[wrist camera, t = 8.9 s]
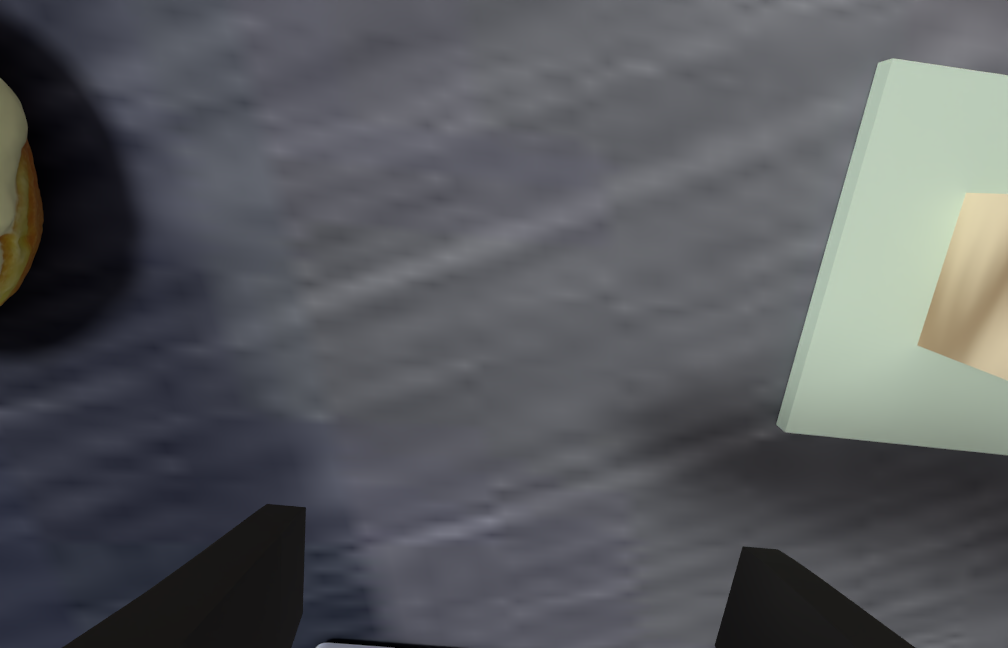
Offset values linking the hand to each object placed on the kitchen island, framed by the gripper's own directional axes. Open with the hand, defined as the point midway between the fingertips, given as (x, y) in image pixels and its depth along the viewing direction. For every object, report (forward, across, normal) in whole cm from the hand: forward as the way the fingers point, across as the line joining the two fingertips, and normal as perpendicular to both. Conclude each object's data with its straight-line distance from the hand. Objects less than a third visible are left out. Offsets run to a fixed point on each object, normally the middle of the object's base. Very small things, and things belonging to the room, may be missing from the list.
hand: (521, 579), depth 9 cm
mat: (+10, -16, -5) cm, 19 cm away
